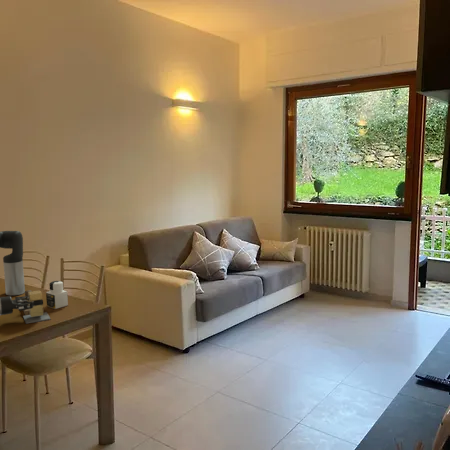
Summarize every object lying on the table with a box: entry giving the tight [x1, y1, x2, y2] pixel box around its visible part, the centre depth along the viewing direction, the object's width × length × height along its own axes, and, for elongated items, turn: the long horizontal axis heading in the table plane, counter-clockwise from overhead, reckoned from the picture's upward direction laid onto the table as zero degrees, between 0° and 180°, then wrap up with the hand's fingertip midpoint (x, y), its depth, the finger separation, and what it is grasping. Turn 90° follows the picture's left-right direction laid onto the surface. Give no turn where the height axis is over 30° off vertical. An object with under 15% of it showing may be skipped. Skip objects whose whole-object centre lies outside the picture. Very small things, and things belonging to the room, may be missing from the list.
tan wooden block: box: [28, 289, 44, 317], centre depth 205 cm, size 5×5×10 cm
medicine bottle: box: [45, 280, 69, 310], centre depth 222 cm, size 7×7×12 cm
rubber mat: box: [22, 311, 51, 324], centre depth 206 cm, size 10×10×1 cm
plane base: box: [22, 289, 45, 316], centre depth 220 cm, size 20×8×8 cm, turn 30°
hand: (41, 300), depth 206 cm, fingers closed on tan wooden block, 5 cm apart
